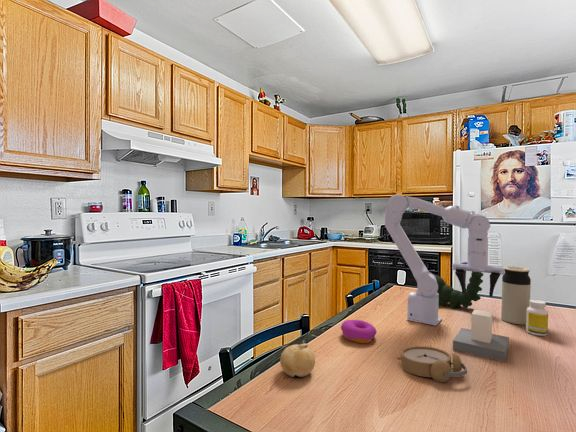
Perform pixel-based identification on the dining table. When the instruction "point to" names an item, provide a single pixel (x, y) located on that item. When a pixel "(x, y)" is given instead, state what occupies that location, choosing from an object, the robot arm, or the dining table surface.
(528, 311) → the supplement bottle
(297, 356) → the onion
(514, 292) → the travel mug
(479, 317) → the ivory block
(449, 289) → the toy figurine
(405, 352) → the alarm clock
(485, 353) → the base block
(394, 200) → the robot arm
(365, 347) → the dining table surface
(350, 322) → the donut
